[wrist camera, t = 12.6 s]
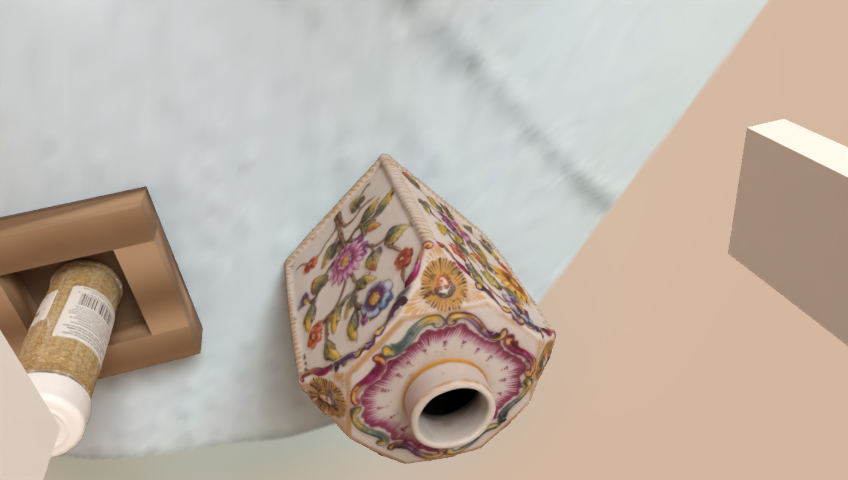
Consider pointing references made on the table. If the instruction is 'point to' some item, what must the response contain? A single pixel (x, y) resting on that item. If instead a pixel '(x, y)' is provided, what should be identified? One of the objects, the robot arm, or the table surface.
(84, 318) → the sprinkles bottle
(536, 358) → the decorative jar
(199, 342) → the socket board
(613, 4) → the table surface
